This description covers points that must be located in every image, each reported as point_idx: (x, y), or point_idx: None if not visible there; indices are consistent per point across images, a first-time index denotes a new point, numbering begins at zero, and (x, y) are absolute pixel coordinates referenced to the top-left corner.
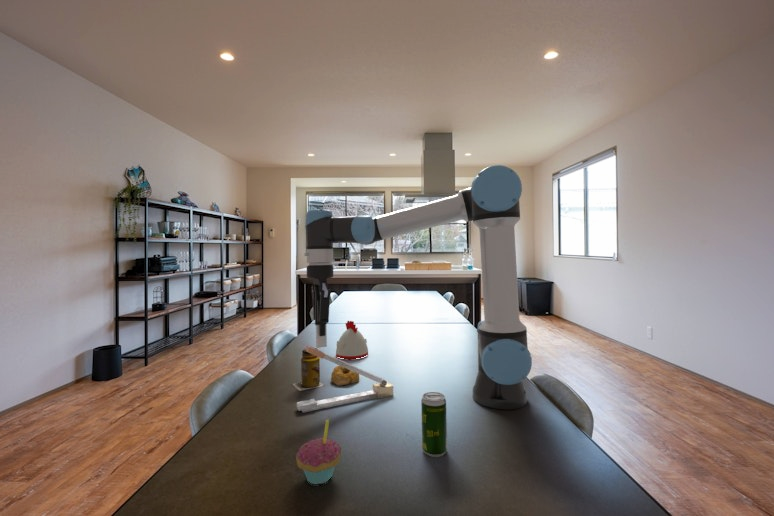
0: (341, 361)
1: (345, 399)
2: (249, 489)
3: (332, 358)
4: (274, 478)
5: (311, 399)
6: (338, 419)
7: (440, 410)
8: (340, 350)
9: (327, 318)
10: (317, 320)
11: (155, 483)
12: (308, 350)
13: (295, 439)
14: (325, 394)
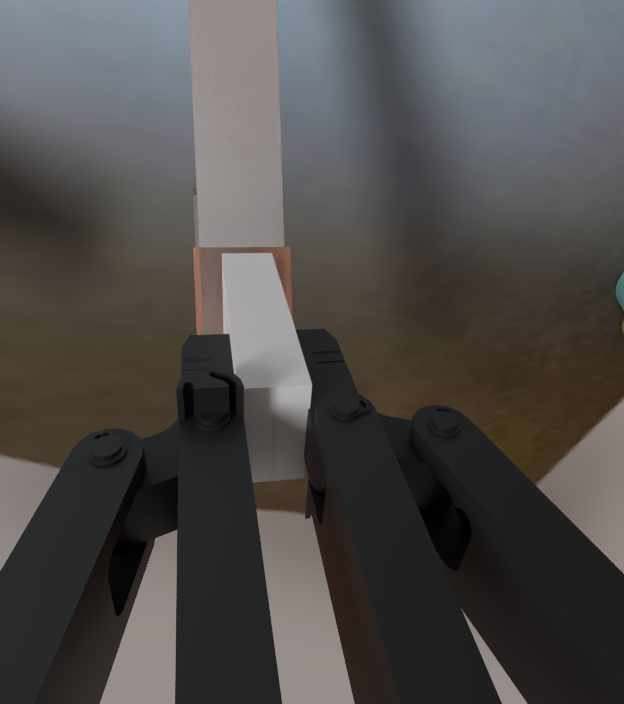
0: (278, 78)
1: None
2: (561, 408)
3: (279, 170)
4: (565, 366)
5: (195, 209)
6: (389, 122)
7: None
8: None
9: (493, 462)
10: (317, 515)
11: None
12: None
13: (433, 303)
14: (47, 79)
